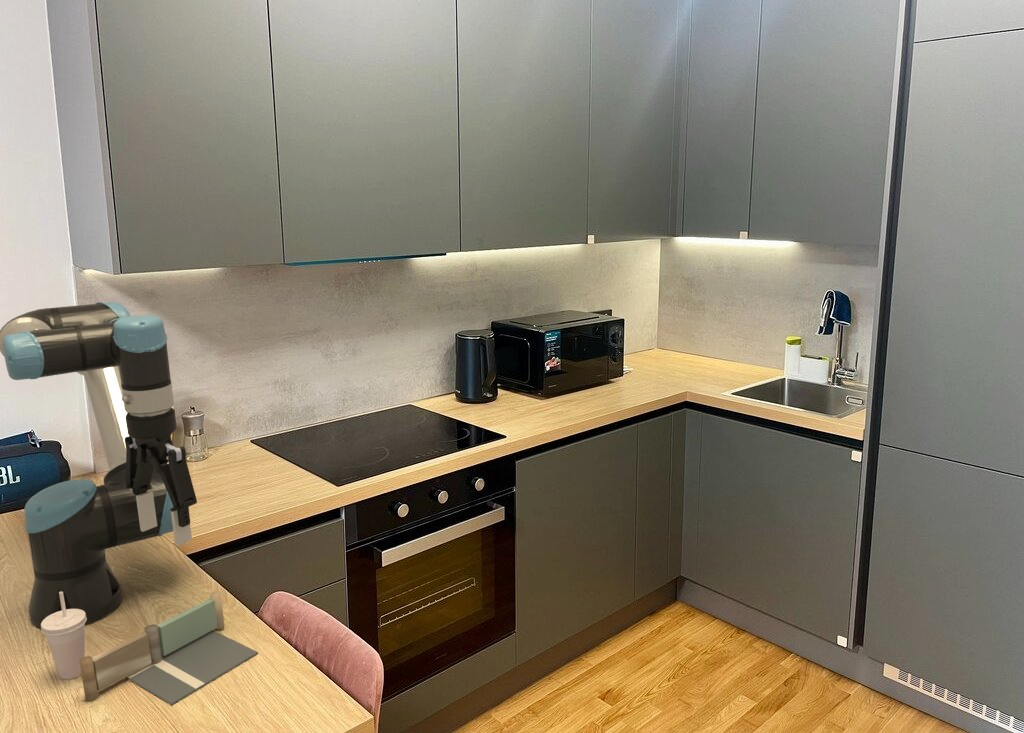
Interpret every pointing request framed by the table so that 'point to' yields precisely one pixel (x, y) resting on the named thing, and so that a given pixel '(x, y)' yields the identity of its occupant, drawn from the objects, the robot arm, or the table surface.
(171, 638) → the gate panel
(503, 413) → the table surface
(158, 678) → the card
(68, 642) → the smoothie
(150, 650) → the base
